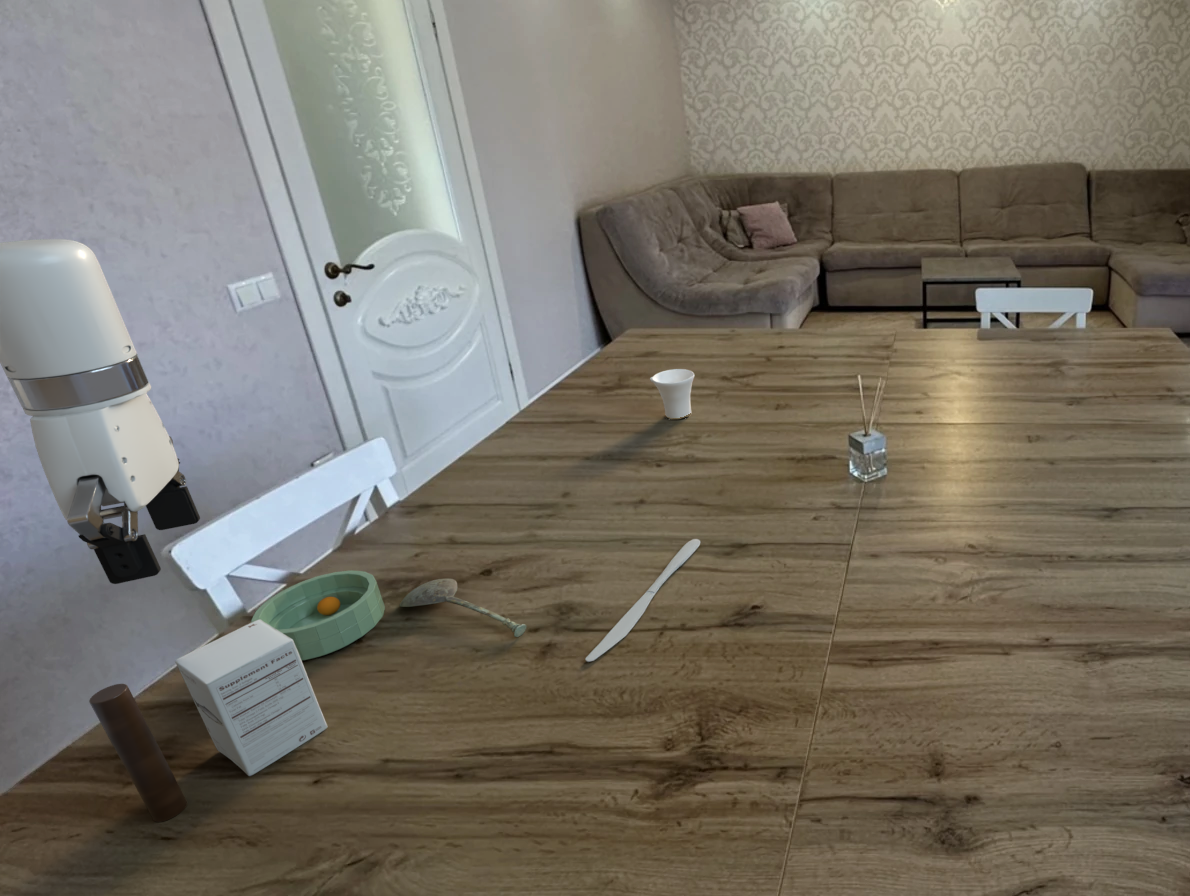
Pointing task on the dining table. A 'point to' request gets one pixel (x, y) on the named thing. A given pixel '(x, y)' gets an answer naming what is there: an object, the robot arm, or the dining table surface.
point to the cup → (675, 391)
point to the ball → (328, 605)
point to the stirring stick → (138, 751)
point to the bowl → (325, 632)
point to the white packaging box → (253, 695)
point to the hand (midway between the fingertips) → (159, 550)
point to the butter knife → (642, 603)
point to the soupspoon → (452, 601)
